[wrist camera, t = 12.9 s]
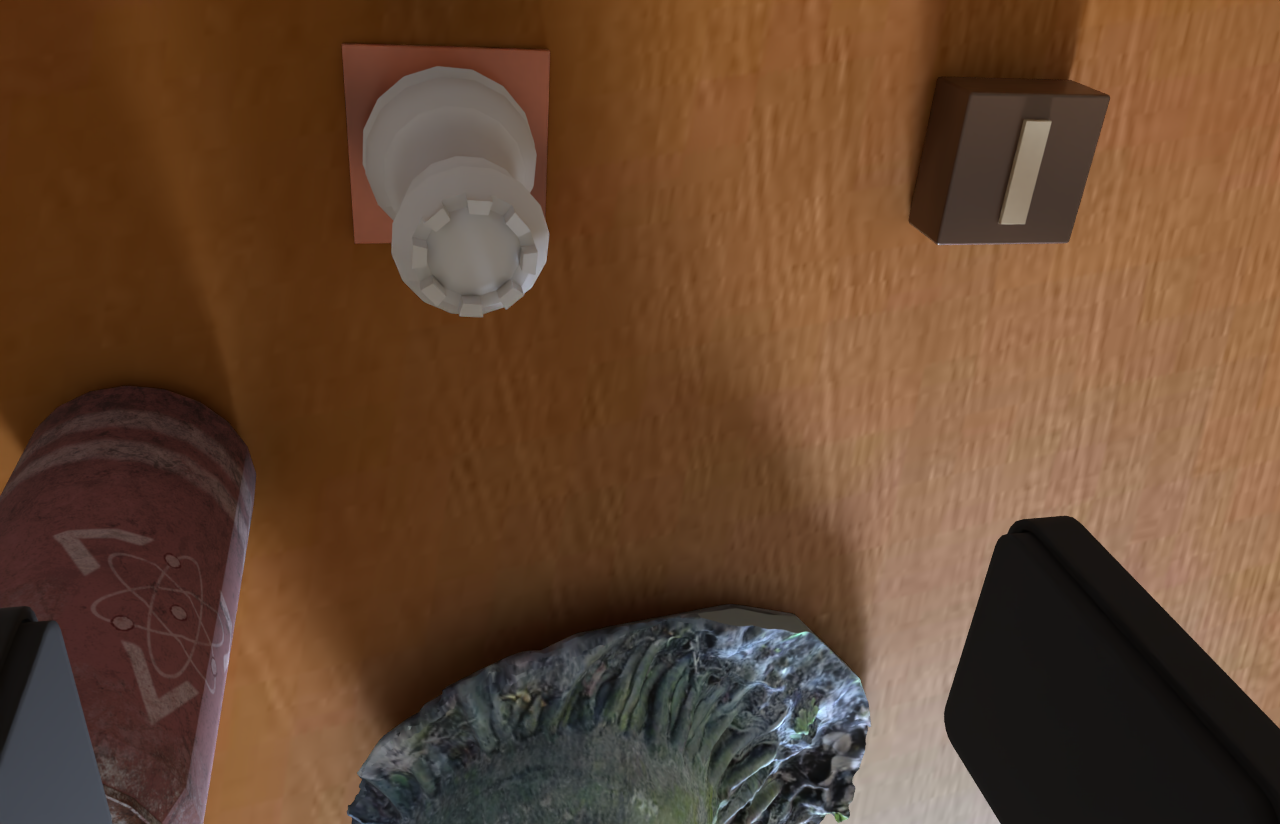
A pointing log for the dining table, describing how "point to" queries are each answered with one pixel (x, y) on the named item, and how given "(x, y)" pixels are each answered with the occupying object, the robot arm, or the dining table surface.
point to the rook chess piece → (457, 189)
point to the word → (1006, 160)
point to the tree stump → (634, 731)
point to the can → (136, 580)
